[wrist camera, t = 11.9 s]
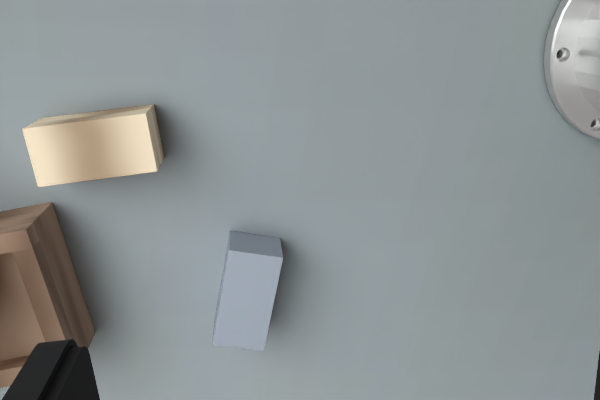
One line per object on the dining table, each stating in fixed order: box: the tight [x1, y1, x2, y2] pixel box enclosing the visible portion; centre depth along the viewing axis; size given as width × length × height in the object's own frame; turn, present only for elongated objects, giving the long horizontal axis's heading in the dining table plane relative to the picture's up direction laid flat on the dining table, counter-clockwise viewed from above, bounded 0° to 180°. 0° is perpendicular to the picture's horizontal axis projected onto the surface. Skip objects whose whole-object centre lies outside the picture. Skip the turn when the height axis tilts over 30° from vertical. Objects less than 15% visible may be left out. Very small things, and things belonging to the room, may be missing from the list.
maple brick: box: [22, 104, 164, 187], centre depth 35 cm, size 7×4×4 cm, turn 96°
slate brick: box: [212, 231, 283, 351], centre depth 39 cm, size 7×4×4 cm, turn 169°
